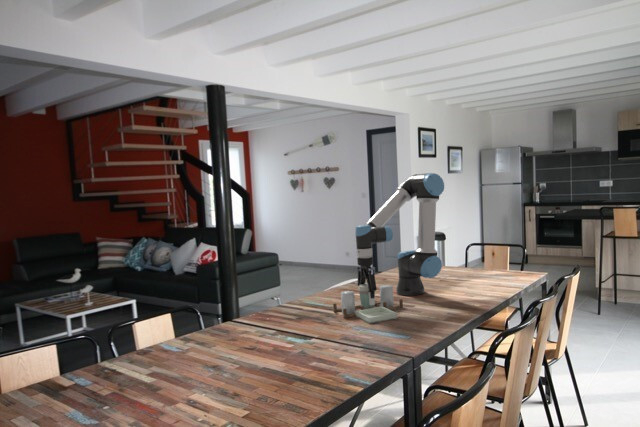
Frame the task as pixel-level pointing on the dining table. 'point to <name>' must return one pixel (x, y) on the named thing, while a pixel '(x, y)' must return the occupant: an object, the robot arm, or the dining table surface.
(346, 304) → the white rounded capsule
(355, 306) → the rack
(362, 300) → the coffee cup
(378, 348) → the dining table surface
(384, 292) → the white rounded block
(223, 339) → the dining table surface
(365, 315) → the tray
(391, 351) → the dining table surface
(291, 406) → the dining table surface
